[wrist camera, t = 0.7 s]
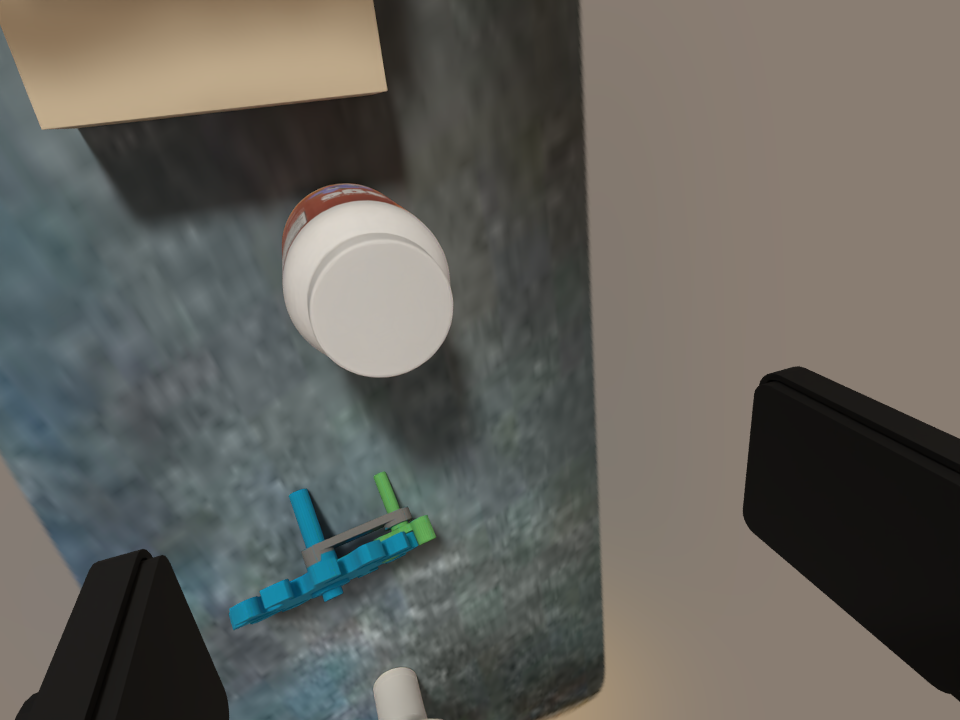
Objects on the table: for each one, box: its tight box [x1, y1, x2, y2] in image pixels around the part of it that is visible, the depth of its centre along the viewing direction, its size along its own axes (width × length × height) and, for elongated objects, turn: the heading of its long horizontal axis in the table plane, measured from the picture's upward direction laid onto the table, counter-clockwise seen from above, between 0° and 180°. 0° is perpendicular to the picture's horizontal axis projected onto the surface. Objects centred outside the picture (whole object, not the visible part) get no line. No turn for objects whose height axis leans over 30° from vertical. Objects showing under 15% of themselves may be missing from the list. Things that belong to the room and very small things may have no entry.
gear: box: [229, 472, 436, 630], centre depth 31 cm, size 11×6×10 cm
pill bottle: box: [282, 183, 453, 377], centre depth 23 cm, size 6×6×11 cm
